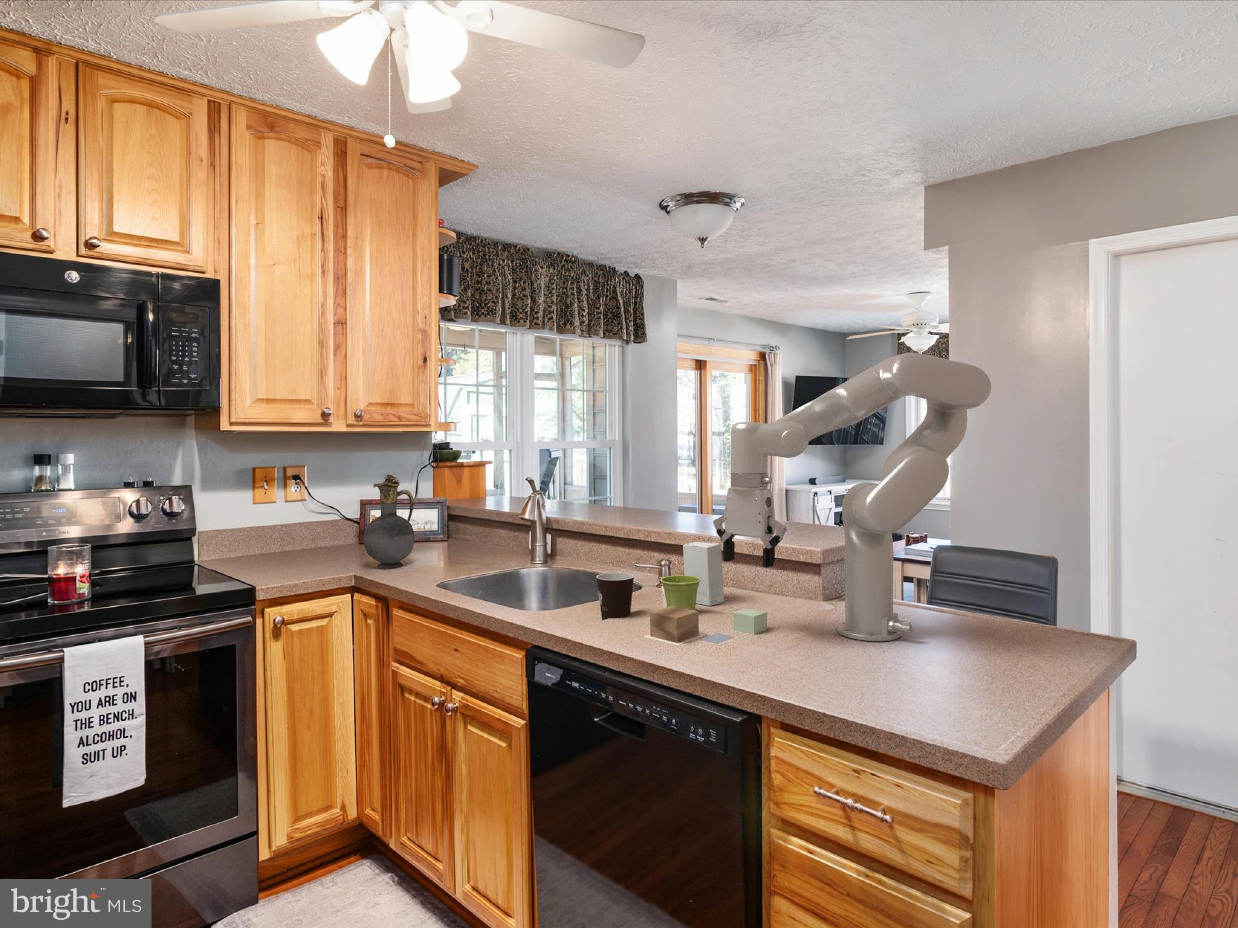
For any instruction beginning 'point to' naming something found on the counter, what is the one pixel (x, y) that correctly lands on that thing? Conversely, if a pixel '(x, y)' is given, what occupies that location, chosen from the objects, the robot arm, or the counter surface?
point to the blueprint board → (714, 638)
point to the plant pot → (681, 590)
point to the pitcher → (390, 528)
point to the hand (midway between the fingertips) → (748, 563)
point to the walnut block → (674, 624)
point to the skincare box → (705, 570)
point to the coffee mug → (615, 594)
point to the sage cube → (750, 621)
